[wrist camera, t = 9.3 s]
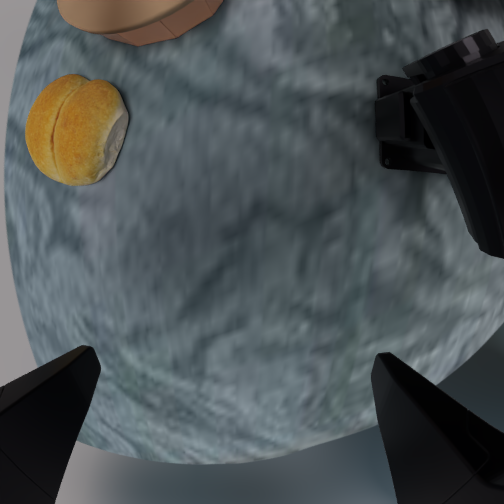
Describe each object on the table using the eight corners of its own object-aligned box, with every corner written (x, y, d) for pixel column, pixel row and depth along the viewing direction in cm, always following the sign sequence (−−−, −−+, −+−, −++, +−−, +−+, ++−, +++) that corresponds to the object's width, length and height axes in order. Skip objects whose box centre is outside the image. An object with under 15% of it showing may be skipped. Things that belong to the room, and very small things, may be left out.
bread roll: (59, 72, 17) (28, 66, 13) (144, 91, 17) (118, 82, 14) (33, 164, 19) (2, 171, 16) (109, 197, 20) (80, 209, 16)
